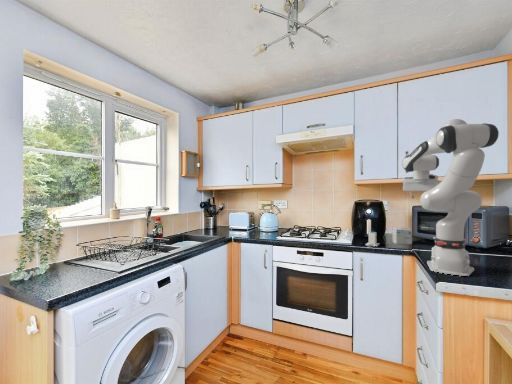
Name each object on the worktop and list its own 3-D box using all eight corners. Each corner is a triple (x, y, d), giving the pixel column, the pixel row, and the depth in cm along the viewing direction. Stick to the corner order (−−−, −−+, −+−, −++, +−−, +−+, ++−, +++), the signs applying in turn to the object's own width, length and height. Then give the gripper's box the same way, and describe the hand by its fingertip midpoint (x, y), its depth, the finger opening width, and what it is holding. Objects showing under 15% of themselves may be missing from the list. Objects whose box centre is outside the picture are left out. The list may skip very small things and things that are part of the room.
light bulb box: (407, 242, 179) (407, 227, 179) (412, 244, 173) (412, 229, 172) (392, 242, 180) (392, 227, 180) (396, 244, 174) (396, 229, 173)
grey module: (374, 244, 170) (374, 233, 170) (368, 244, 173) (368, 232, 173) (376, 243, 174) (376, 232, 173) (370, 242, 176) (370, 231, 176)
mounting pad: (376, 246, 168) (376, 245, 168) (365, 245, 172) (365, 244, 172) (379, 244, 174) (379, 243, 174) (369, 242, 179) (368, 242, 179)
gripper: (401, 177, 161) (401, 198, 161) (440, 176, 148) (440, 199, 148) (403, 177, 166) (403, 197, 166) (441, 176, 152) (441, 198, 153)
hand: (421, 198), depth 157 cm, fingers open, 8 cm apart
